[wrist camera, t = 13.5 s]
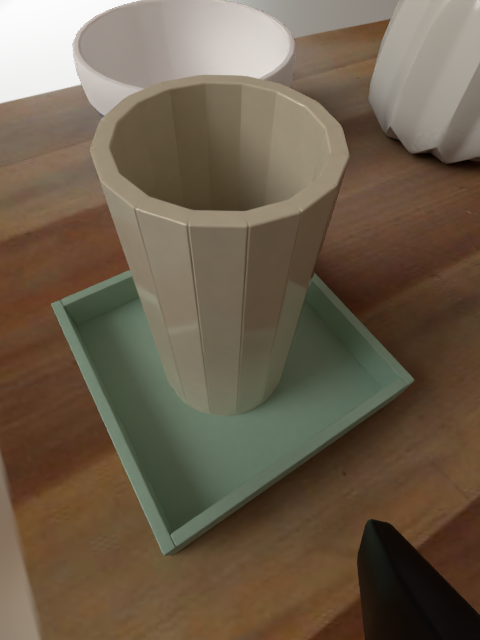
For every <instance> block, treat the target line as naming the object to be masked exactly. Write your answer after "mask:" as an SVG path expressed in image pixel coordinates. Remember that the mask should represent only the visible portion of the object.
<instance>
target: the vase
mask: <svg viewBox="0 0 480 640" xmlns="http://www.w3.org/2000/svg"><path fill="white" fill-rule="evenodd" d="M368 101H369V103H370V105H371V107H372V110H373V112H374V114H375V116H376V118H377V120H378V122H379V124H380V126H381V128H382V130H383V132H384V133H385V135H386V136H388V137H390V138H393V139H396V140H400V141H401V142H402V144H403V145H404V147H405V148H406V149H407V151H408V152H409V153H410V154H419V153H431V154H432V155H433V156H435V157H436V158H438V159H439V160H440V161H442V162H443V163H445V164H449V163H455V162H459V161H464V160H470V161H476V162H480V0H400V1H399V2H398V5H397V7H396V9H395V11H394V13H393V15H392V18H391V20H390V22H389V25H388V27H387V30H386V32H385V35H384V37H383V40H382V43H381V46H380V49H379V53H378V56H377V60H376V65H375V69H374V73H373V76H372V80H371V83H370V89H369V97H368Z"/></svg>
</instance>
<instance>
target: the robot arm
mask: <svg viewBox="0 0 480 640" xmlns="http://www.w3.org/2000/svg"><path fill="white" fill-rule="evenodd" d="M357 567H358V577H359V587H360V596H361V606H362V616H363V625H364V635H365V640H480V615H479V614H478V613H477V612H476V611H475V610H474V609H473V608H472V607H471V605H470V604H469V603H468V602H467V601H466V600H465V599H464V598H463V597H462V596H461V595H460V594H459V593H458V592H457V591H456V590H455V589H454V588H453V587H452V586H451V585H450V584H449V583H448V582H447V581H446V580H445V579H444V578H443V577H442V576H441V575H440V574H439V573H438V572H437V571H436V570H435V569H434V568H433V567H432V566H431V565H430V563H429V562H428V561H427V560H426V559H425V558H424V557H423V556H422V555H421V554H420V553H419V552H418V551H417V550H416V549H415V548H414V547H413V546H412V545H411V544H410V543H409V542H408V541H407V540H406V539H405V538H404V537H403V536H402V535H401V534H400V533H399V532H398V531H397V530H396V529H395V528H394V527H393V526H392V525H391V524H390V523H388V522H383V521H378V520H374V519H370V520H368V521H367V523H366V525H365V529H364V532H363V536H362V540H361V544H360V548H359V551H358V558H357Z"/></svg>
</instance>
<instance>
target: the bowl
mask: <svg viewBox="0 0 480 640" xmlns="http://www.w3.org/2000/svg"><path fill="white" fill-rule="evenodd" d="M295 50H296V45H295V42H294V38H293V36H292V34H291V33H290V32H289V31H288V29H287V28H286V26H285V25H283V24H282V23H281V22H280V21H279V20H277V19H276V18H274V17H273V16H271V15H268V14H267V13H265V12H263V11H260V10H258V9H256V8H253V7H250V6H247V5H244V4H240V3H236V2H232V1H227V0H141V1H137V2H132V3H129V4H124V5H122V6H119V7H115V8H112V9H110V10H108V11H105V12H104V13H102V14H99V15H97V16H95V17H94V18H93V19H91V20H90V21H88V22H87V23H86V24H85V25H84V26H83V27H82V28H81V29H80V30H79V31H78V33H77V35H76V37H75V39H74V42H73V55H74V60H75V65H76V70H77V74H78V76H79V79H80V81H81V84H82V86H83V89H84V91H85V94H86V96H87V98H88V100H89V102H90V103H91V104H92V105H93V106H94V108H95V109H96V110H97V112H98V113H99V114H100V116H101V117H102V118H103V117H104V116H105V115H106V114H107V113H108V112H109V111H111V110H112V109H113V108H114V107H115V106H116V105H117V104H118V103H119V102H121V101H122V100H123V99H124V98H127V96H129V95H131V94H134V93H136V92H138V91H141V90H143V89H145V88H148V87H150V86H152V85H155V84H157V83H159V82H163V81H168V80H174V79H180V78H185V77H191V76H197V75H237V76H244V77H245V76H249V77H253V78H257V79H262V80H266V81H270V82H275V83H279V84H283V85H284V86H288V87H290V88H291V83H292V79H293V74H294V67H295Z"/></svg>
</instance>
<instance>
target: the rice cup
mask: <svg viewBox="0 0 480 640" xmlns="http://www.w3.org/2000/svg"><path fill="white" fill-rule="evenodd" d="M90 154H91V157H92V160H93V163H94V166H95V169H96V172H97V175H98V177H99V180H100V183H101V186H102V189H103V192H104V195H105V198H106V201H107V204H108V207H109V210H110V213H111V216H112V219H113V222H114V225H115V227H116V230H117V233H118V236H119V239H120V242H121V245H122V248H123V251H124V254H125V257H126V260H127V263H128V266H129V269H130V272H131V275H132V277H133V280H134V283H135V286H136V289H137V292H138V295H139V298H140V301H141V304H142V307H143V310H144V313H145V316H146V319H147V322H148V324H149V327H150V330H151V333H152V336H153V339H154V342H155V345H156V348H157V351H158V354H159V357H160V360H161V363H162V366H163V369H164V372H165V374H166V377H167V380H168V383H169V385H170V386H171V388H172V390H173V391H174V393H175V394H176V395H177V396H178V397H179V398H180V399H181V400H182V401H183V402H184V403H185V404H187V405H188V406H190V407H191V408H193V409H195V410H197V411H200V412H202V413H205V414H210V415H214V416H233V415H238V414H242V413H245V412H248V411H250V410H252V409H255V408H256V407H258V406H260V405H261V404H263V403H264V402H265V401H266V400H267V399H268V398H269V397H270V396H271V395H272V394H273V393H274V391H275V390H276V388H277V387H278V385H279V383H280V381H281V378H282V375H283V372H284V369H285V367H286V364H287V361H288V357H289V354H290V351H291V348H292V344H293V341H294V338H295V335H296V331H297V328H298V325H299V321H300V318H301V315H302V312H303V308H304V305H305V302H306V299H307V295H308V292H309V289H310V285H311V282H312V279H313V276H314V272H315V269H316V266H317V263H318V259H319V256H320V253H321V249H322V246H323V243H324V240H325V236H326V233H327V230H328V227H329V223H330V220H331V217H332V213H333V210H334V207H335V204H336V200H337V197H338V194H339V191H340V187H341V184H342V181H343V178H344V174H345V171H346V168H347V164H348V161H349V151H348V147H347V143H346V139H345V136H344V132H343V128H342V127H341V124H340V123H339V122H338V121H337V120H336V119H335V118H334V117H333V116H332V115H331V114H330V113H329V112H328V111H327V110H326V109H325V108H324V107H323V106H322V105H321V104H320V103H318V102H317V101H316V100H314V99H312V98H310V97H308V96H306V95H304V94H302V93H300V92H298V91H296V90H294V89H292V88H290V87H288V86H284V85H283V84H279V83H275V82H270V81H266V80H262V79H257V78H253V77H249V76H245V77H244V76H237V75H197V76H191V77H185V78H180V79H174V80H168V81H163V82H159V83H157V84H155V85H152V86H150V87H148V88H145V89H143V90H141V91H138V92H136V93H134V94H131V95H129V96H127V98H124V99H123V100H122V101H121V102H119V103H118V104H117V105H116V106H115V107H114V108H113V109H112V110H111V111H109V112H108V113H107V114H106V115H105V116H104V117H103V118H102V119H101V121H99V124H98V127H97V130H96V133H95V135H94V138H93V141H92V144H91V147H90Z"/></svg>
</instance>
